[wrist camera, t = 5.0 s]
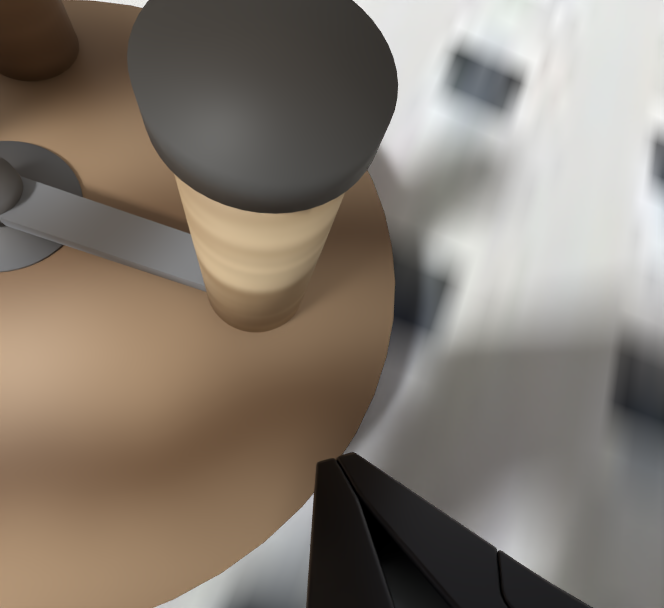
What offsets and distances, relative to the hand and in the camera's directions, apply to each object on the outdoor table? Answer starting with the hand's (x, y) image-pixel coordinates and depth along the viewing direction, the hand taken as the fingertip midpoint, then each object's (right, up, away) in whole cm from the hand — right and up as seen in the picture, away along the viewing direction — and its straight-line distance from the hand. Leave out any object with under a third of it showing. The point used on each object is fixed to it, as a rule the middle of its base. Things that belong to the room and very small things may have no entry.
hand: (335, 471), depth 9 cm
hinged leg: (-6, +5, +4) cm, 9 cm away
